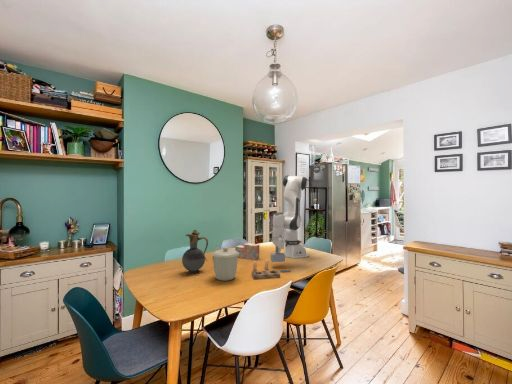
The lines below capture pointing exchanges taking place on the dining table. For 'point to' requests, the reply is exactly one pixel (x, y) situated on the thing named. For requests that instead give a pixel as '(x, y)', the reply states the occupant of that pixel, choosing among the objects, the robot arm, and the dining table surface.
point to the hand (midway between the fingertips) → (278, 252)
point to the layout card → (285, 270)
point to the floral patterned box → (248, 251)
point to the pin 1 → (254, 265)
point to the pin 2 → (266, 264)
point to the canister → (225, 263)
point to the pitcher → (194, 254)
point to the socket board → (265, 274)
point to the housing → (277, 256)
